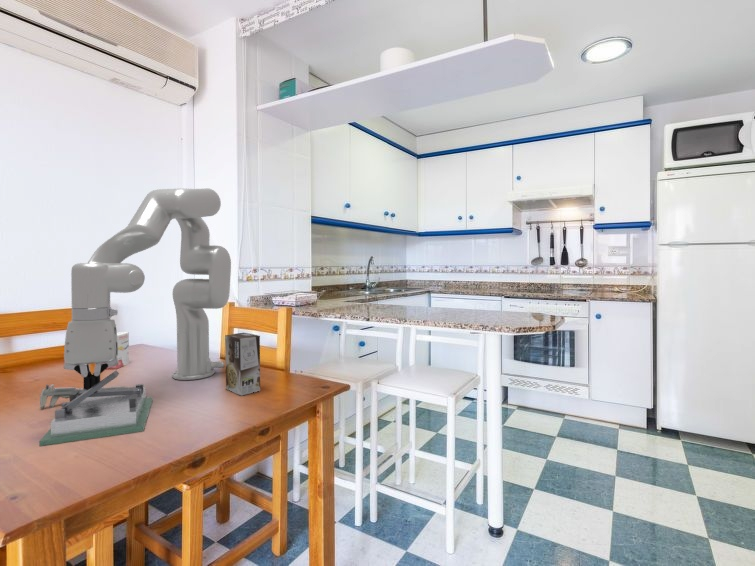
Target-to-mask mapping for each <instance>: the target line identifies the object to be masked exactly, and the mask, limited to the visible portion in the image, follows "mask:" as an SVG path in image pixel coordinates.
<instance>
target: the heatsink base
mask: <svg viewBox="0 0 755 566" xmlns="http://www.w3.org/2000/svg"><path fill="white" fill-rule="evenodd" d="M135 387H142V390H141V389H139V390H133V395H118V396H101V397H87V398H86V399H84V400H83V401H81V402H80V403H79V404H77V405H76V406H74V407H73V408H71V409H70V410H68V411H67V412H66V409H61V408H62V407H63V406H64V405H66V404H68V403H69V402H71V401H72V400H74V399H75V398H77V397H78V395H79V392H80V390H75V391H73V392H72V393H71V394H70V398H69V401H66V402H62V403H61V408H60V409H59V408H58V409H56V410H55V411H54V418H53V419H52V420H51V421H50V428H49V430H48V431H47V432H46V433H45V434H44V435H43V437H41V439H40V440H39V441H38V442H39V447H42V446H49V445H51V446H52V445H58V444H63V443H70V442H79V441H84V440H91V439H92V440H93V439H97V438H105V437H112V436H113V437H114V436H119V435H125V434H133V433H139V432H140V433H141V432H144V430H145V427H146V425H147V421H148V417H149V413H150V411H151V407H152V405H153V399H154V398H153V397H154V396H147V397H146V387H144V383H139V384H135Z"/></svg>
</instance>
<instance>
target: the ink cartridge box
mask: <svg viewBox="0 0 755 566" xmlns="http://www.w3.org/2000/svg"><path fill="white" fill-rule="evenodd" d="M117 339H118V356H117V358H118V361H119V363H118V365H116V366H113V367H109V368H106V369H105V370H117V369H120V368H121V367H122V368H123V367H124V366H126V365H129V364H130V332H129V331H120V332H119V331H117ZM105 363H107V362H105ZM103 364H104V363H103Z"/></svg>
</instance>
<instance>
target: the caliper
mask: <svg viewBox="0 0 755 566" xmlns="http://www.w3.org/2000/svg"><path fill="white" fill-rule="evenodd" d="M110 388H127V387H126V386H123V385H122V386H107V387H106V386H105V387H104V386H103V387H102V388H100V389H110ZM75 390H80V391H81V390H84V387H81V388H77V387H75V386H74V387H71V386H70V387H69V386H68V387H55V384H53V383H52V384H51V385H49V384H46V385H45V388H43V389H42V390H41V393H40V396H39V405H40V406H39V408H40V409H42V410H45V407H46V404H47V401H48V397H50V402H49V408H51V409H53V408H54V407H55V405H56V403H57V401H58V400H59V398H62V399H70V394H71V393H72V392H73V391H75Z"/></svg>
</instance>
